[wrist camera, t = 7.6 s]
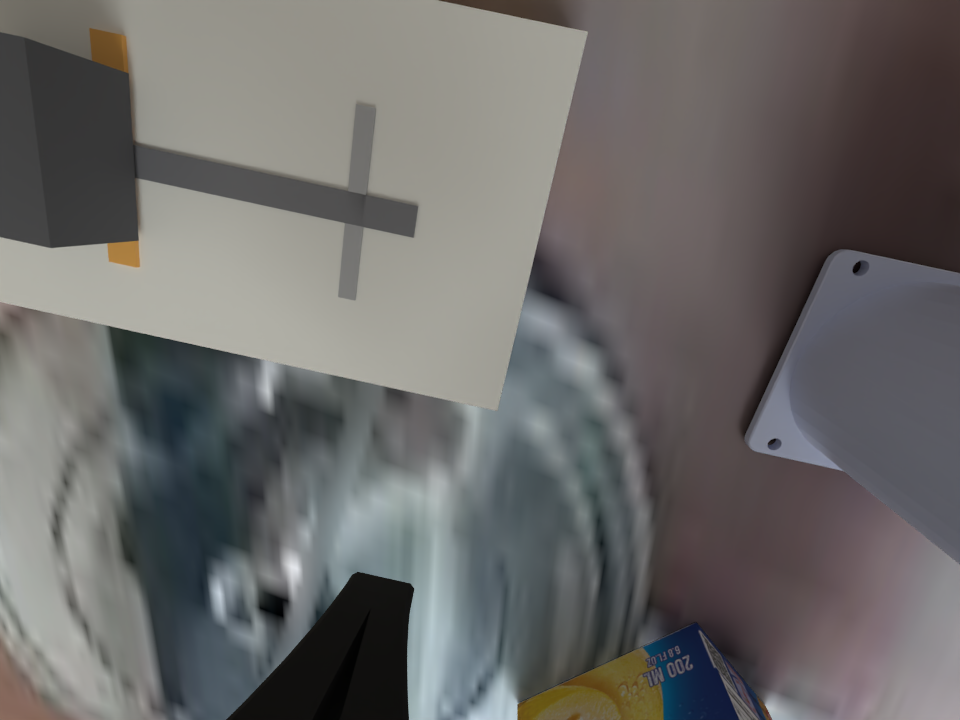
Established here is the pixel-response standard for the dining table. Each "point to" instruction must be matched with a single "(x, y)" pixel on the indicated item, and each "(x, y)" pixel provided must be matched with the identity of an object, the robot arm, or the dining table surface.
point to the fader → (64, 148)
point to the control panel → (319, 181)
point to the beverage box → (654, 686)
